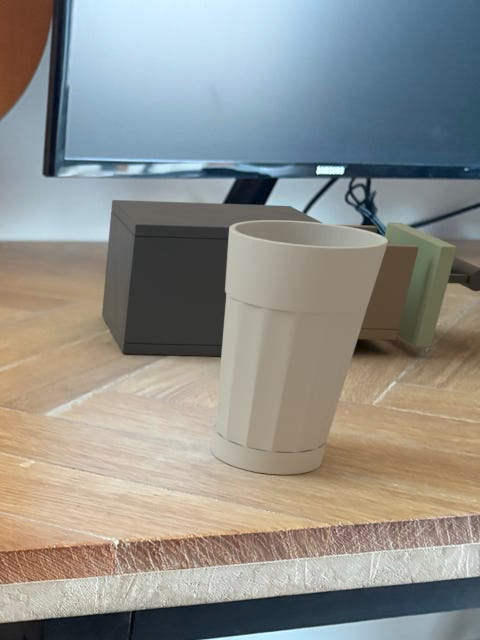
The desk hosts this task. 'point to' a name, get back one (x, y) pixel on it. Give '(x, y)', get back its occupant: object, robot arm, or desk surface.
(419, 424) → the desk surface
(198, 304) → the cabinet
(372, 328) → the drawer
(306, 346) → the cup
